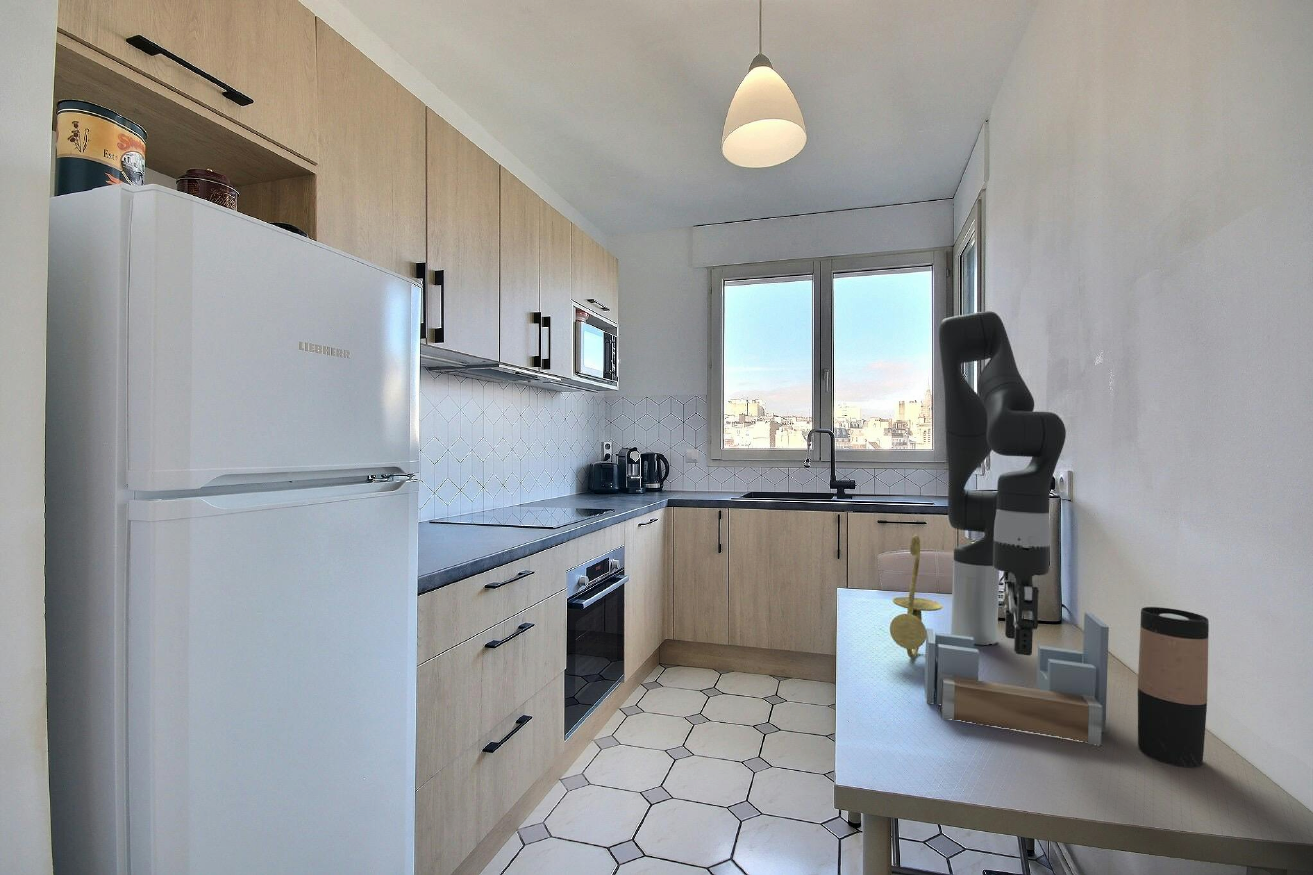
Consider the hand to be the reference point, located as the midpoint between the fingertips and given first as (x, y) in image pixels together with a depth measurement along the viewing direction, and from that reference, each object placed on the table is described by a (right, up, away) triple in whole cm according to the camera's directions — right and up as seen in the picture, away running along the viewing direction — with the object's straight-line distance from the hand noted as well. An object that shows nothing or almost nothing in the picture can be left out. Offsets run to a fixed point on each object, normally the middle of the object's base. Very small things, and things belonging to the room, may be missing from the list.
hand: (1017, 645), depth 97 cm
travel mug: (+17, -13, -8) cm, 23 cm away
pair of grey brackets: (+3, -13, +8) cm, 15 cm away
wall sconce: (-4, -13, +30) cm, 33 cm away
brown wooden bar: (0, -12, 0) cm, 12 cm away
